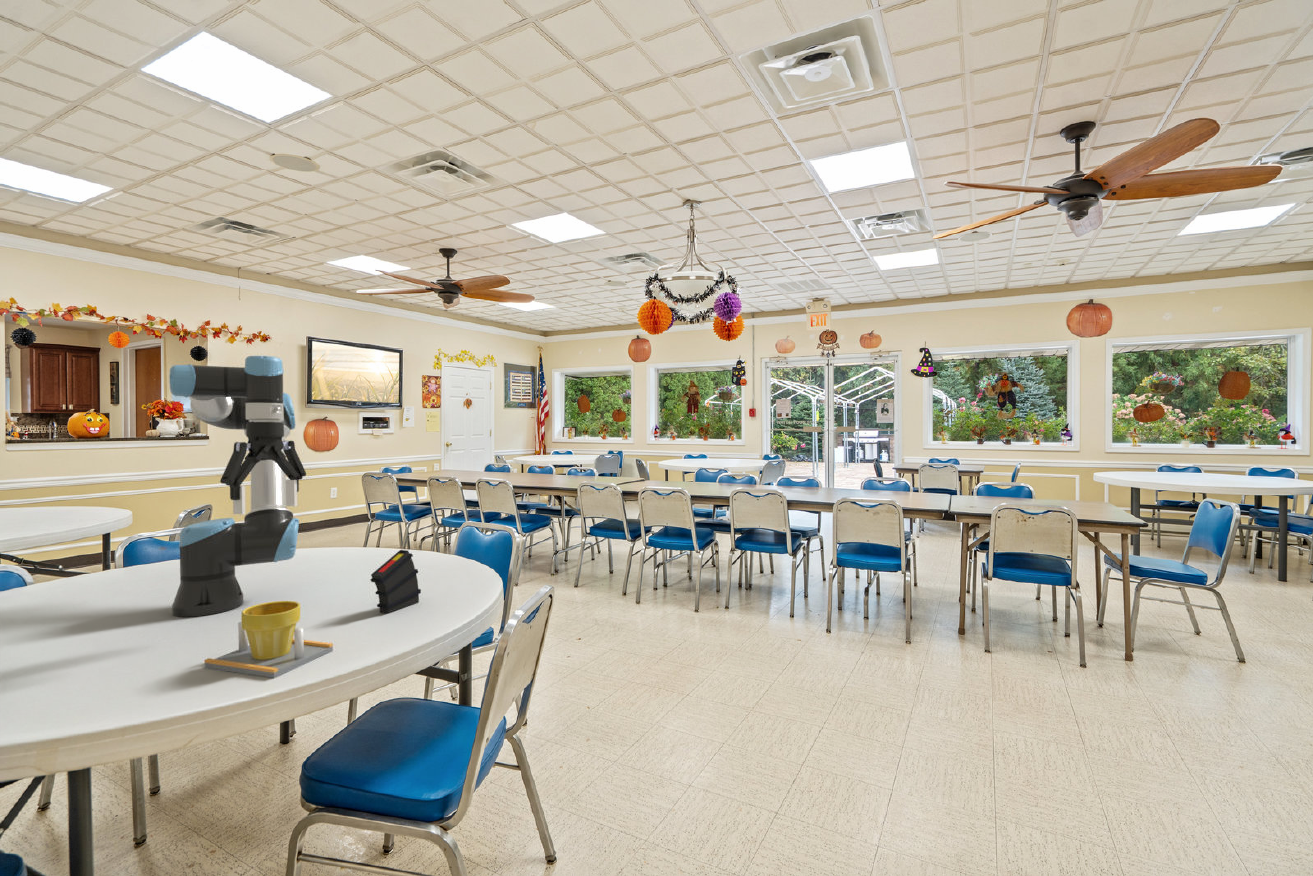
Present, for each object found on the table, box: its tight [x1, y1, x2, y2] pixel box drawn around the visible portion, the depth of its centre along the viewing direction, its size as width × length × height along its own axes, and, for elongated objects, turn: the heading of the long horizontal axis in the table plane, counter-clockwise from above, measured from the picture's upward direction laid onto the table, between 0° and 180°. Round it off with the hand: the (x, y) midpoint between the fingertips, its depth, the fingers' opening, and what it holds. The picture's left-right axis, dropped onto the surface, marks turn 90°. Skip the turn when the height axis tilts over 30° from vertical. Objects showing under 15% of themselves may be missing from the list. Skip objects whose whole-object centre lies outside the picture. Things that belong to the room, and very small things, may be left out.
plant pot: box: [240, 600, 301, 660], centre depth 121 cm, size 10×10×10 cm
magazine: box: [370, 549, 422, 614], centre depth 155 cm, size 4×13×15 cm, turn 157°
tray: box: [203, 621, 334, 679], centre depth 121 cm, size 18×14×7 cm
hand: (266, 509), depth 139 cm, fingers open, 13 cm apart
